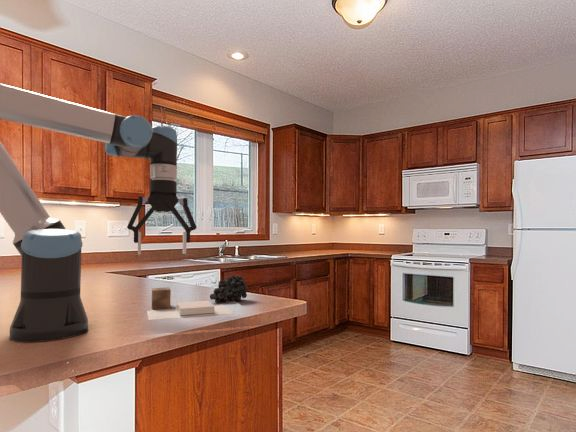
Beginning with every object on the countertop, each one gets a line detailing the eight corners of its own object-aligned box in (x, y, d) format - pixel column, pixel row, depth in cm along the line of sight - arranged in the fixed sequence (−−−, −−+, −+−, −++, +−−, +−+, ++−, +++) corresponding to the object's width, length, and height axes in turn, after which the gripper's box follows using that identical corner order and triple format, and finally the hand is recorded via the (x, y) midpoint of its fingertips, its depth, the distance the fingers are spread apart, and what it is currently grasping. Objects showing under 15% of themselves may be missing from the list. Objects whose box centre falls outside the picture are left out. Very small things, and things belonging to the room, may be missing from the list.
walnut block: (152, 311, 112) (152, 290, 112) (151, 308, 117) (151, 288, 117) (170, 310, 114) (170, 289, 114) (168, 307, 119) (169, 287, 119)
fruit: (214, 276, 120) (248, 271, 132) (198, 283, 125) (232, 277, 136) (221, 304, 118) (254, 296, 130) (204, 310, 123) (238, 302, 135)
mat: (148, 322, 99) (148, 320, 99) (146, 312, 110) (146, 310, 110) (233, 315, 107) (233, 313, 107) (224, 307, 118) (224, 305, 118)
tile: (180, 308, 103) (214, 306, 106) (176, 302, 111) (208, 300, 115) (180, 316, 103) (214, 313, 106) (176, 309, 111) (208, 307, 115)
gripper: (118, 176, 107) (116, 255, 106) (206, 180, 115) (206, 254, 115) (119, 179, 114) (117, 254, 113) (202, 183, 122) (201, 252, 122)
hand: (162, 254), depth 114 cm, fingers open, 12 cm apart
